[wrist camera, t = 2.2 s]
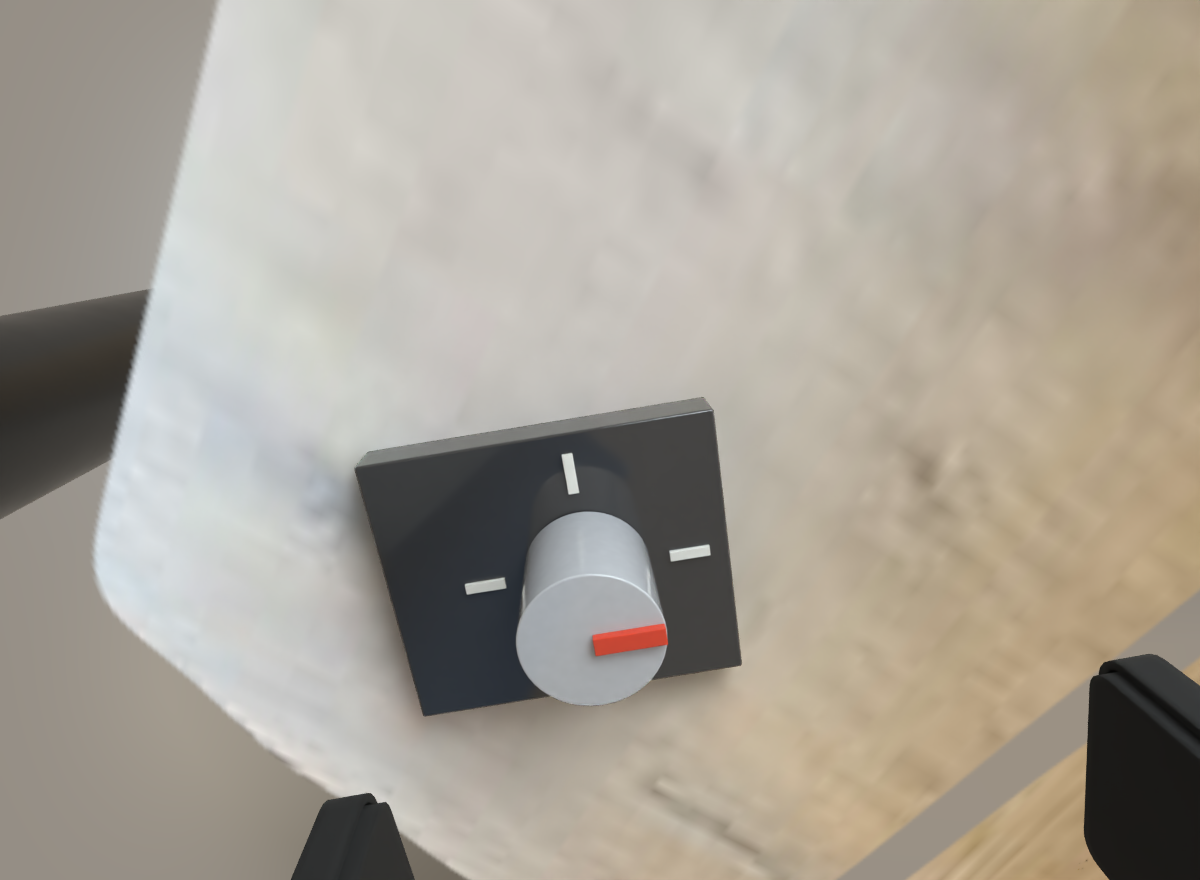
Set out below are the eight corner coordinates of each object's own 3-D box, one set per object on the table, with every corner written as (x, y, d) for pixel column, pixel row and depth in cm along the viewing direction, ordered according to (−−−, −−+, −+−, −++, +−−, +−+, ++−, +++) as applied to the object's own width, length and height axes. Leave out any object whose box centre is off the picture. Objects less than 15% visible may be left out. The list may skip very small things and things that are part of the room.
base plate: (436, 668, 29) (422, 720, 26) (376, 440, 26) (351, 469, 23) (725, 622, 29) (743, 669, 26) (697, 387, 26) (714, 410, 23)
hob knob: (536, 633, 26) (530, 724, 21) (513, 522, 24) (500, 593, 20) (658, 613, 26) (678, 700, 21) (641, 501, 24) (658, 567, 20)
